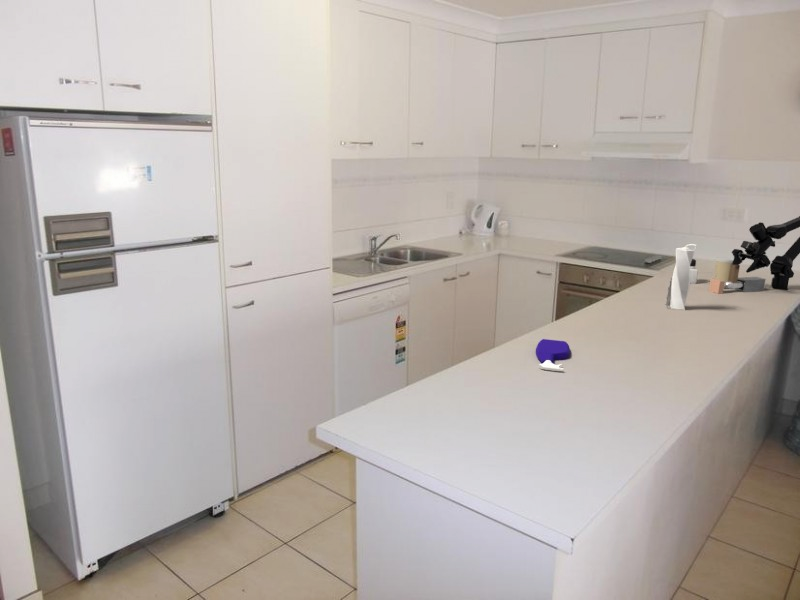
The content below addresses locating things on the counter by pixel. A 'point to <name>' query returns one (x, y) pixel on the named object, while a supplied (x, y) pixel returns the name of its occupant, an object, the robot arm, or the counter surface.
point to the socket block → (716, 286)
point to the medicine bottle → (693, 272)
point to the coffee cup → (723, 268)
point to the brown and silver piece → (733, 278)
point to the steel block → (752, 284)
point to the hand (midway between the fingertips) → (738, 270)
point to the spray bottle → (552, 353)
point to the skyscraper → (680, 279)
